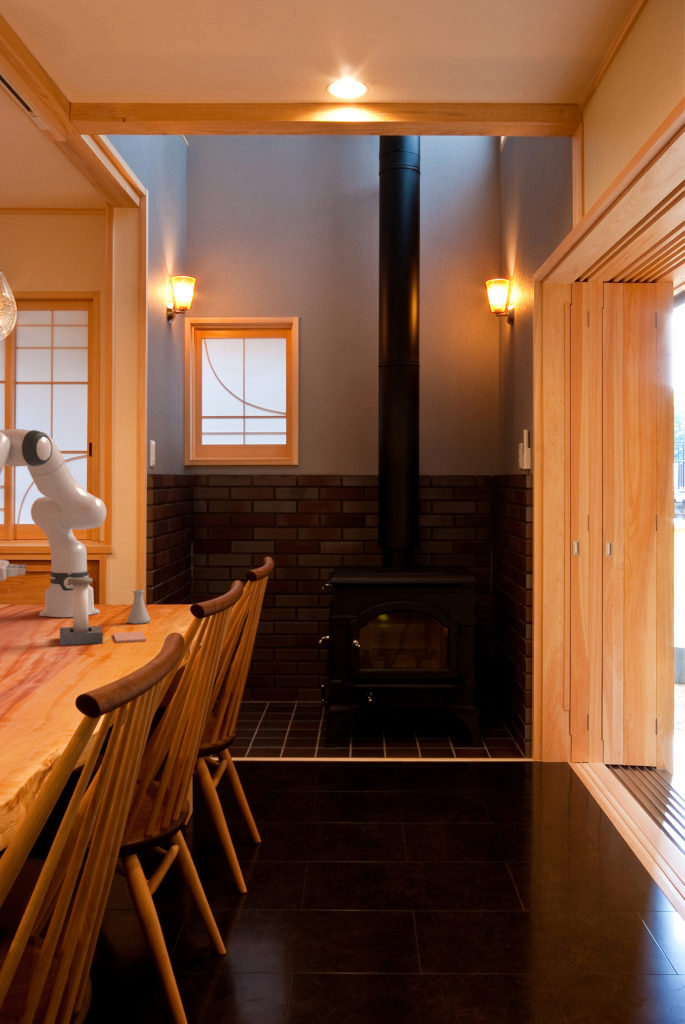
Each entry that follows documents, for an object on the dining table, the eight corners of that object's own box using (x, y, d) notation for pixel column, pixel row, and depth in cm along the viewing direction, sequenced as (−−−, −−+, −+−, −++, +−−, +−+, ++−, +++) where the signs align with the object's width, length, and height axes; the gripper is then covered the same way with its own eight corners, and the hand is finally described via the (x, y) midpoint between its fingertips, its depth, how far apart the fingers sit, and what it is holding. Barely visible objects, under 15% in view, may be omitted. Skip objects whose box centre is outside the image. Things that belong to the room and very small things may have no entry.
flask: (144, 624, 266) (144, 592, 265) (122, 624, 267) (122, 591, 267) (154, 621, 273) (154, 589, 273) (132, 620, 274) (132, 588, 274)
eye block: (59, 638, 243) (59, 627, 243) (100, 636, 247) (100, 625, 247) (60, 645, 233) (60, 634, 233) (102, 643, 236) (102, 632, 236)
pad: (113, 635, 248) (113, 633, 248) (141, 633, 251) (141, 631, 251) (116, 642, 237) (116, 640, 237) (146, 641, 239) (146, 639, 239)
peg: (68, 639, 242) (67, 577, 241) (92, 638, 244) (91, 577, 243) (69, 643, 236) (68, 580, 235) (93, 642, 238) (92, 579, 237)
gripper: (-34, 562, 220) (24, 561, 224) (-27, 556, 239) (26, 555, 244) (-34, 587, 220) (24, 585, 225) (-27, 579, 240) (27, 577, 244)
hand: (25, 569), depth 234 cm, fingers open, 8 cm apart
